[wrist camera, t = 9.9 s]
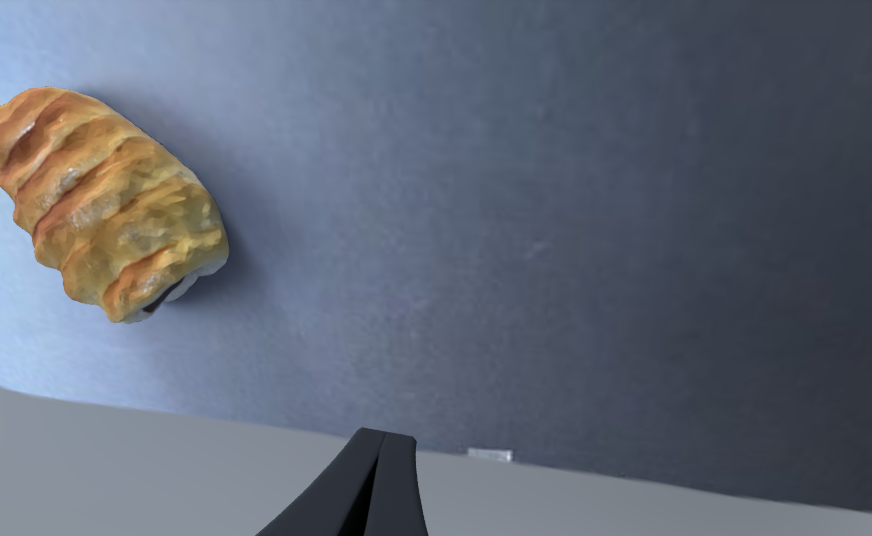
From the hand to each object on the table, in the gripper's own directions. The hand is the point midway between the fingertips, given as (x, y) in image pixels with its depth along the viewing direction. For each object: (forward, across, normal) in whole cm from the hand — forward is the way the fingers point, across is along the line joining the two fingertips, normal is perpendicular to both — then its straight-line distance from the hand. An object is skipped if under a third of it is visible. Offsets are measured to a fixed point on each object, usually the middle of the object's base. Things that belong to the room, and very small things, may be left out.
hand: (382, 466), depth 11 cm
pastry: (+10, +13, -2) cm, 16 cm away
